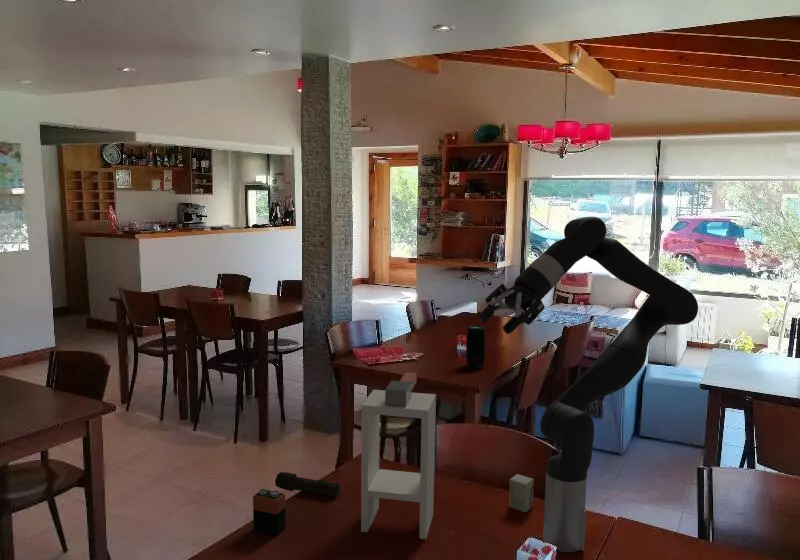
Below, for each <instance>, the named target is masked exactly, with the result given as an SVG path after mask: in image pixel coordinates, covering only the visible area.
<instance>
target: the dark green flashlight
mask: <svg viewBox="0 0 800 560" xmlns="http://www.w3.org/2000/svg"><path fill="white" fill-rule="evenodd" d="M274 483H275V486H276V487H277V488H279V489H280V490H281V489H282V490H286V491H289V492H294V491H301V492H305V493H307V492H308V493H312V494H316V495H322V496H328V497H332V498H333V499H334V500H336V498H338V496H339V495H340V491H341V483H339V482H329V481H325V480H321V479H320V480H317V479H312V478H311V479H310V478H305V477H301V476H297V474H296V473H291V472H287V471H284V472H283V471H280V472H279V473H277V474H276V477H275V481H274Z"/></svg>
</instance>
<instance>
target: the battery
mask: <svg viewBox="0 0 800 560" xmlns="http://www.w3.org/2000/svg"><path fill="white" fill-rule="evenodd" d="M252 512H253V513H252V515H253V516H252V519H253V521H252V522H253V531H255V532H259V533H263V534H267V535H271V536H275V537H277V536H279V534H281V532H283V530H285V529H286V526H287V525H286V521H287V520H286V494H285V493H284V492H280V491H279V490H278V489H277V490H270V489H266V488H261V489H259V491H258V492H257V493H255V494H254V495H253V496H252Z"/></svg>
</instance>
